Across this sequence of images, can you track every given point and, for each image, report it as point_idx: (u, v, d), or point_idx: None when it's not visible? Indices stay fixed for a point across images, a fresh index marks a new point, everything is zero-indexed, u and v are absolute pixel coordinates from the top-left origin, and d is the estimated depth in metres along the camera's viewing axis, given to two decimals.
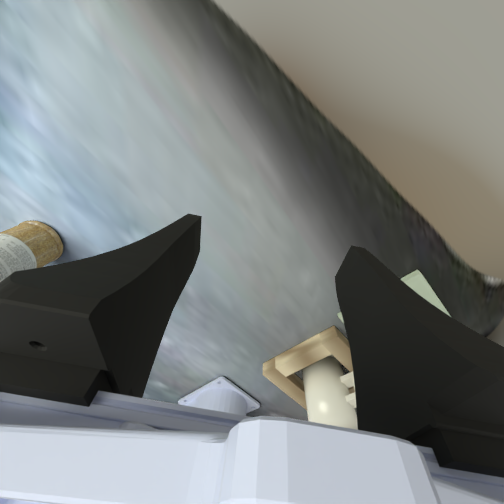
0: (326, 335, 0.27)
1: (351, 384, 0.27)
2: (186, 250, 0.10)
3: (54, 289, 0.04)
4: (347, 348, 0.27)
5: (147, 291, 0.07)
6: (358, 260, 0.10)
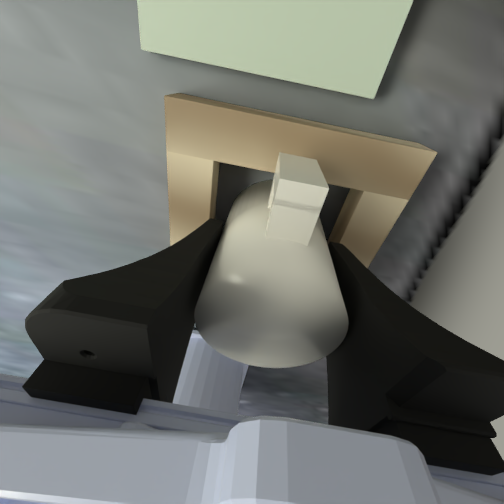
0: None
1: None
2: (211, 255, 0.10)
3: (109, 299, 0.05)
4: (223, 112, 0.09)
5: (183, 298, 0.07)
6: (334, 255, 0.10)
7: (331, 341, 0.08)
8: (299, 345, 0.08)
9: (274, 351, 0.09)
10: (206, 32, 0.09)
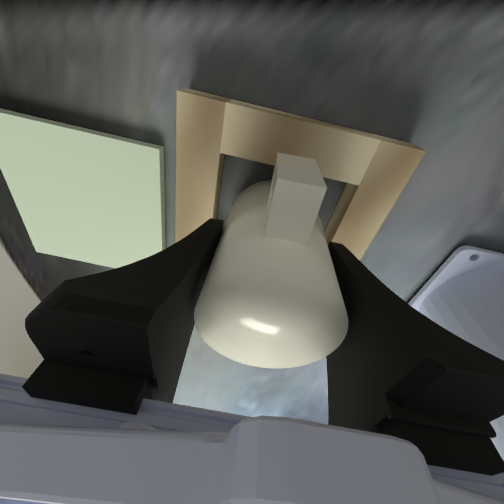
0: None
1: None
2: (211, 255, 0.10)
3: (108, 299, 0.05)
4: None
5: (183, 298, 0.07)
6: (334, 255, 0.10)
7: (331, 341, 0.08)
8: (299, 345, 0.08)
9: (274, 351, 0.09)
10: (149, 249, 0.16)
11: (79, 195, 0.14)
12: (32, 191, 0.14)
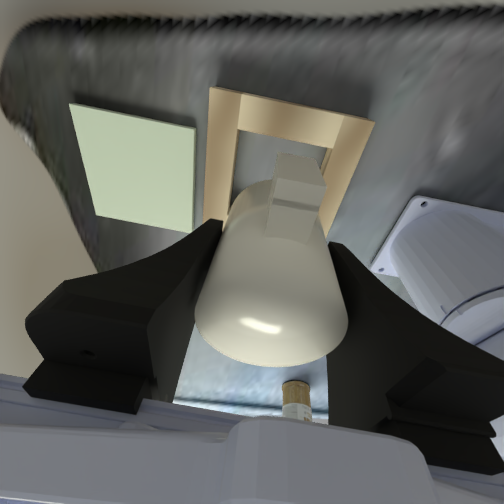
0: None
1: None
2: (211, 255, 0.10)
3: (109, 299, 0.05)
4: (205, 208, 0.20)
5: (183, 298, 0.07)
6: (334, 255, 0.10)
7: (331, 340, 0.08)
8: (299, 344, 0.08)
9: (274, 350, 0.09)
10: (182, 208, 0.21)
11: (134, 166, 0.19)
12: (100, 165, 0.20)
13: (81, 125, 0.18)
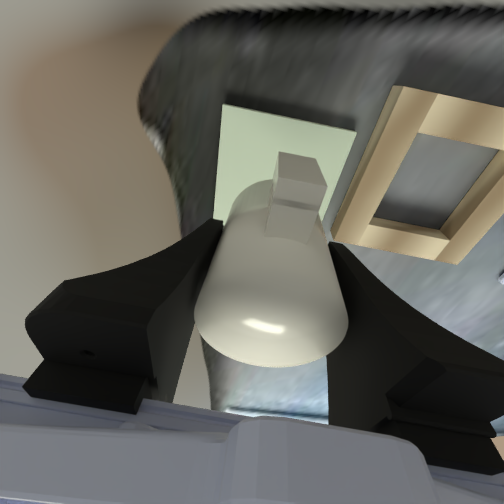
0: None
1: None
2: (211, 255, 0.10)
3: (109, 300, 0.05)
4: (346, 216, 0.18)
5: (183, 298, 0.07)
6: (334, 255, 0.10)
7: (331, 340, 0.08)
8: (299, 344, 0.08)
9: (274, 350, 0.09)
10: None
11: None
12: (235, 170, 0.18)
13: (228, 127, 0.16)
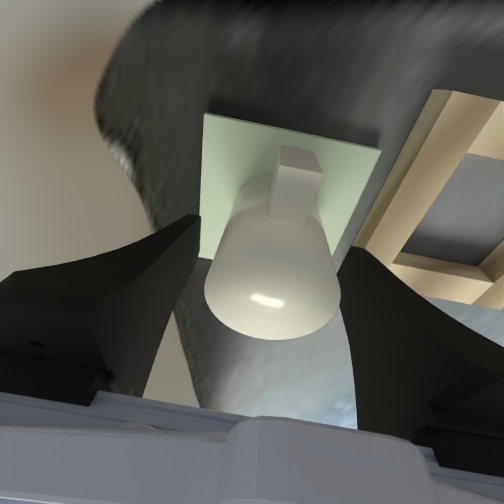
0: None
1: None
2: (186, 250, 0.10)
3: (54, 289, 0.04)
4: None
5: (147, 291, 0.07)
6: (358, 260, 0.10)
7: (326, 312, 0.09)
8: (297, 316, 0.09)
9: (275, 323, 0.10)
10: None
11: None
12: (223, 196, 0.14)
13: (213, 144, 0.13)
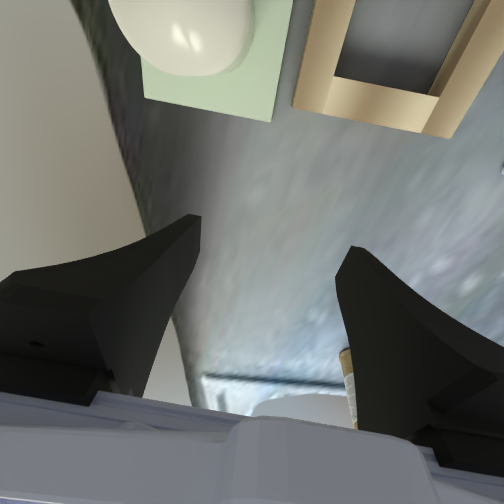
0: None
1: None
2: (186, 250, 0.10)
3: (54, 289, 0.04)
4: (304, 64, 0.14)
5: (147, 291, 0.07)
6: (358, 260, 0.10)
7: (231, 6, 0.09)
8: (205, 21, 0.09)
9: (185, 38, 0.09)
10: (264, 78, 0.16)
11: None
12: None
13: None
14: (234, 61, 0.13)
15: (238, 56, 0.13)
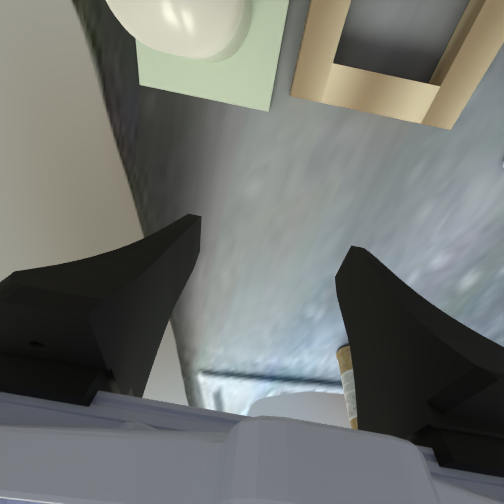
0: None
1: None
2: (186, 250, 0.10)
3: (54, 289, 0.04)
4: (303, 51, 0.14)
5: (147, 291, 0.07)
6: (358, 260, 0.10)
7: None
8: None
9: (173, 13, 0.09)
10: (262, 65, 0.15)
11: None
12: None
13: None
14: (228, 44, 0.12)
15: (232, 39, 0.12)
